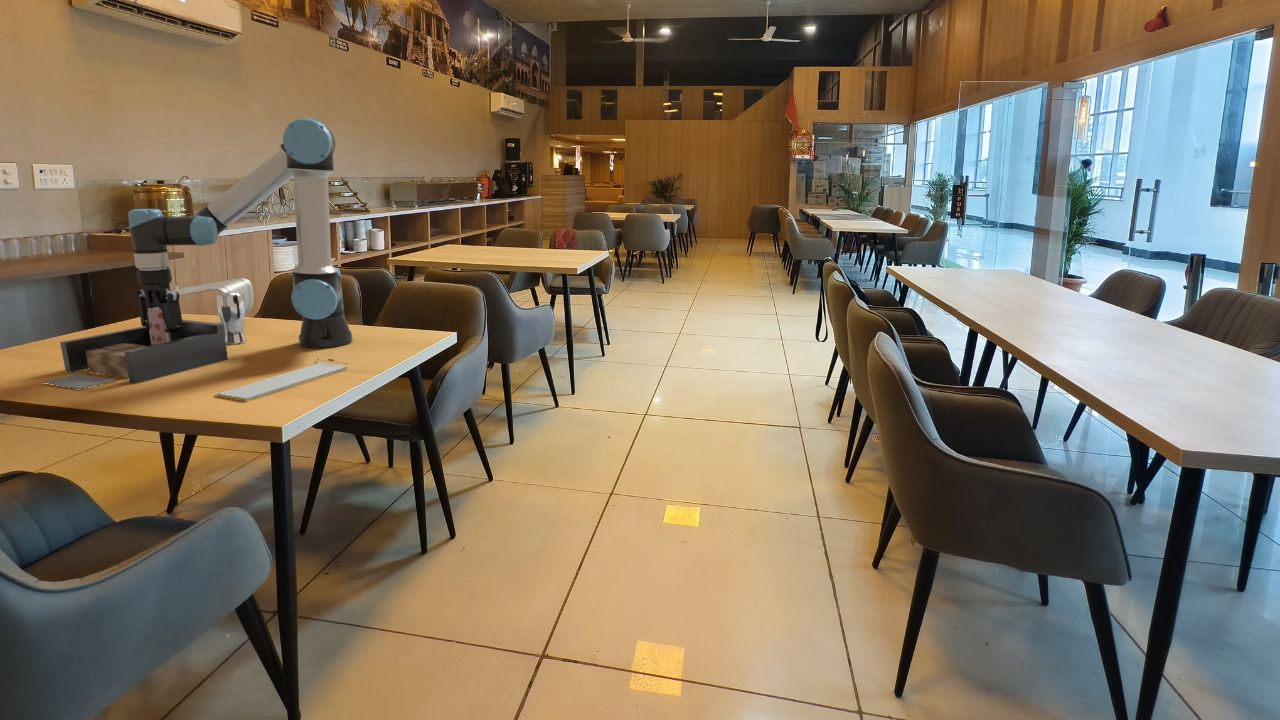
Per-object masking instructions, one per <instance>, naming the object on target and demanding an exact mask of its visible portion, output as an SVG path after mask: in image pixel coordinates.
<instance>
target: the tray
mask: <svg viewBox="0 0 1280 720" xmlns="http://www.w3.org/2000/svg"><path fill="white" fill-rule="evenodd" d="M182 322H183V328H181V329H179V330H178V337H179V340H174V341H170V342H165V343H160V344H156V345H151V340H150V336H149V330H148V329H147V328H146V326H142V325H141V326H138V327H137V326H136V327H132V328H128V329H127V328H126V329H122V330H117V331H111V332H106V333H102V334H101V333H99V334H95V335H90V336H84V337H79V338H75V339H74V338H73V339H68V340H63V341H60V349H61V354H62V358H63V364H64V369H65V370H64V371H65V372H66V371H67V372H66V373H68V372H73V373H76V372H75V371H78V372H80V371H79V370H82V371H84V370H83V369H87V370H89V369H88V362H87V357H86V351H88V350H93V349H101V348H103V347H108V346H113V345H117V344H122V343H127V344H135V345H144V346H146V347H142V348H137V349H133V350H128V351H124V352H125V358H126V364H127V370H128V376H129V379H128V380H129V383H130V384H134V383H135V384H139V383H144V382H146V381H151V380H155V379H159V378H162V377H166V376H169V375H173V374H178V373H182V372H185V371H191V370H192V369H198V368H201V367H205V366H208V365H212V364H217V363H220V362H224V361H228V360H229V358H228V349H227V344H226V341H225V334H224V326H223V324H216V323H207V322H208V321H199V320H198V321H195V320H189V319H188V320H187V319H182ZM135 384H134V385H135Z"/></svg>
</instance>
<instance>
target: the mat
mask: <svg viewBox="0 0 1280 720" xmlns="http://www.w3.org/2000/svg"><path fill="white" fill-rule="evenodd" d="M110 382H112V383H115V379H111V378H103V377H99V376H93V375H92V376H91V375H86V374H80V373H75V374H71V375H69V374H68V375H66V376H61V377H57V378H54V379H49V380H45V381H41V384H42V383H49V384H54V385H59V386H65V387H70V388H75V389H84V388H88V387H92V386H95V385H100V384H104V385H106V384H105V383H108V384H111V383H110ZM100 386H101V385H100ZM92 388H93V387H92ZM88 389H89V388H88Z"/></svg>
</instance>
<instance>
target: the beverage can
mask: <svg viewBox="0 0 1280 720" xmlns="http://www.w3.org/2000/svg"><path fill="white" fill-rule="evenodd" d="M148 318H149V324H150V331H151V337H152V344H153V345H156V344H160V343H165V342H167V339H166V333H165V330H167V327H166V324H165V322H164V319H163V314H162V310H161V309H160V308H159V307H156V308H148ZM171 327H172V326H171Z"/></svg>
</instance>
